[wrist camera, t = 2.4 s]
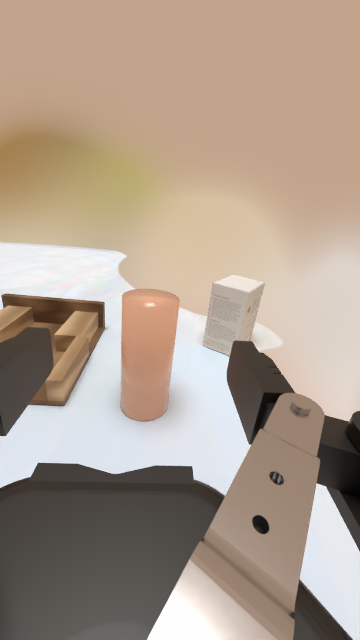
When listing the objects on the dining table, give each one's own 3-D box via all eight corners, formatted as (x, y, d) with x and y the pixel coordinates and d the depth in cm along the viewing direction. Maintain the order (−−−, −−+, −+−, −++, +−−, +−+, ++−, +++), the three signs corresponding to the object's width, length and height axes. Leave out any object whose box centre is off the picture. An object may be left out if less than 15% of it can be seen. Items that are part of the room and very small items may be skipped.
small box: (221, 330, 46) (232, 273, 42) (250, 340, 43) (265, 281, 39) (201, 346, 40) (212, 281, 35) (234, 359, 37) (250, 291, 33)
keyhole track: (-98, 398, 24) (-116, 357, 22) (10, 320, 40) (5, 293, 38) (64, 405, 25) (60, 368, 23) (104, 327, 42) (104, 302, 40)
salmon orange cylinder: (116, 420, 24) (117, 305, 19) (124, 386, 29) (126, 286, 24) (167, 422, 25) (180, 310, 20) (167, 389, 29) (178, 291, 24)
